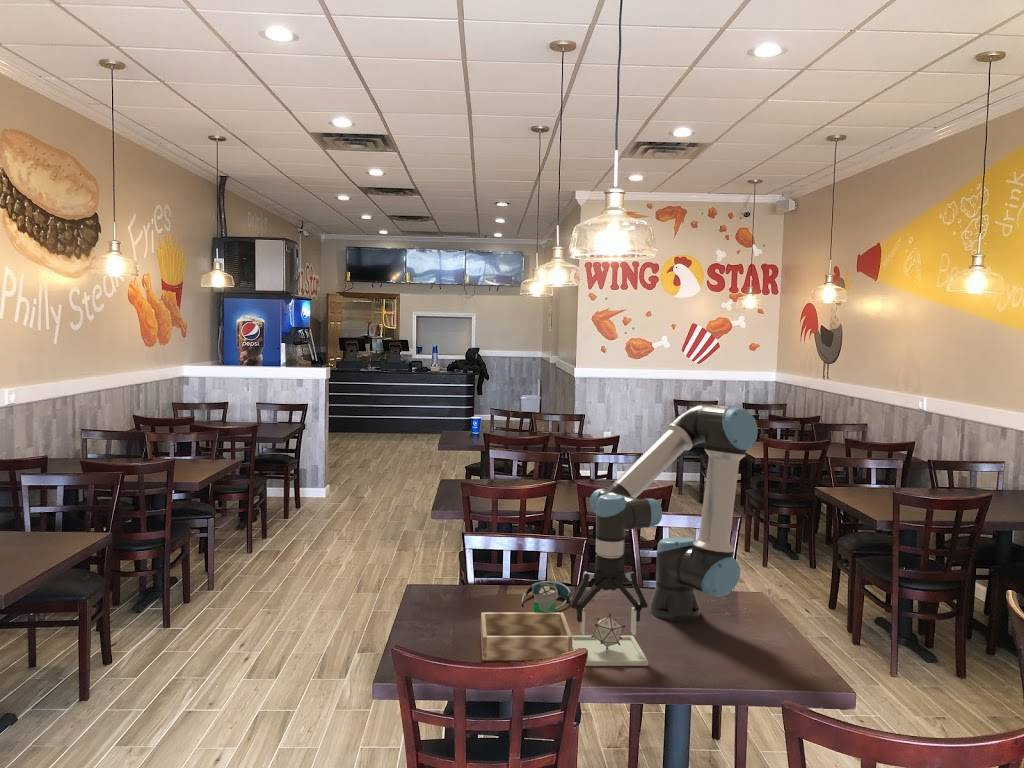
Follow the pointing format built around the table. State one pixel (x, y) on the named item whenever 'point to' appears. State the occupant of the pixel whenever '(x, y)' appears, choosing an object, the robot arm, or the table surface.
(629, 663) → the tray
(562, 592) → the sunglasses
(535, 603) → the food container
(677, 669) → the table surface
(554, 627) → the birch crate
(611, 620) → the game die
